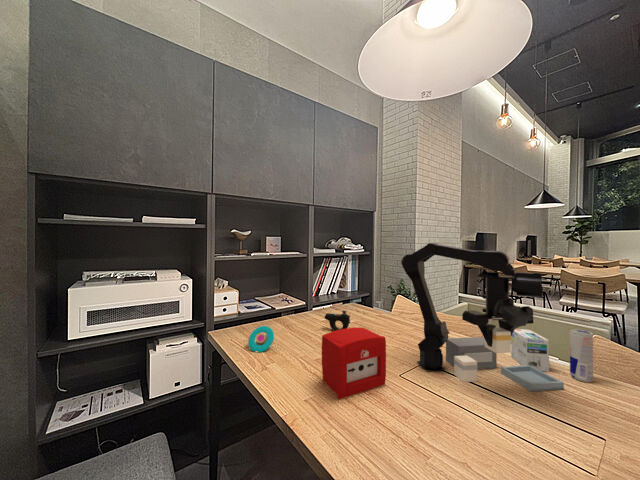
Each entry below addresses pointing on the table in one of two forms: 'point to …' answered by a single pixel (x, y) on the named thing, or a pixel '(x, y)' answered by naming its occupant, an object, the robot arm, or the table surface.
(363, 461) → the table surface
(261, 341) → the ornament
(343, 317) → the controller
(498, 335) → the cream taped block
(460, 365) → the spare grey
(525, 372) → the tray
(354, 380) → the fire alarm
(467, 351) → the block
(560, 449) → the table surface
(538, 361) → the light bulb box
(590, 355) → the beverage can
